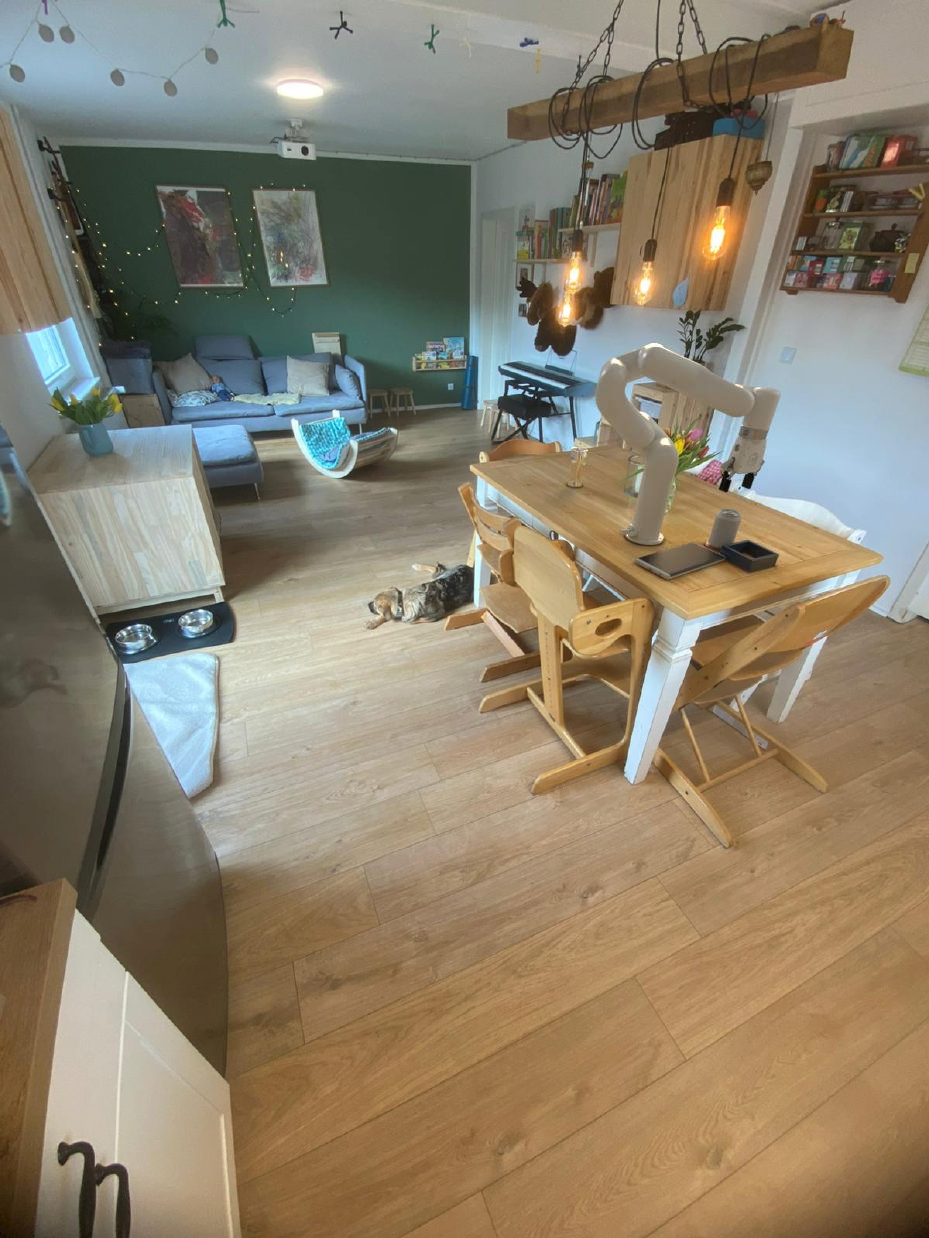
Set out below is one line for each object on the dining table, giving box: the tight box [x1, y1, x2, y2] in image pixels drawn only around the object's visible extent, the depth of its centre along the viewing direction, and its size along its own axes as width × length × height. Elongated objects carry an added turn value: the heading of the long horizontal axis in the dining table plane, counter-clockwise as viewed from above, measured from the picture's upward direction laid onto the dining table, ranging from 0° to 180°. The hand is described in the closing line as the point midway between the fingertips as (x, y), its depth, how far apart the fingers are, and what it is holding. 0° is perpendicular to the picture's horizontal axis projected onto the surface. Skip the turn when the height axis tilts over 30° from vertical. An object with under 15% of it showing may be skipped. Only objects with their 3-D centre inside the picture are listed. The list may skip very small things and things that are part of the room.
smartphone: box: [634, 541, 726, 580], centre depth 165 cm, size 13×27×2 cm, turn 121°
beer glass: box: [567, 446, 589, 488], centre depth 220 cm, size 7×7×15 cm
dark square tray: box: [719, 539, 780, 573], centre depth 166 cm, size 12×12×4 cm
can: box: [707, 508, 742, 549], centre depth 172 cm, size 8×8×12 cm
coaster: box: [704, 541, 721, 553], centre depth 175 cm, size 9×9×1 cm
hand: (734, 489), depth 166 cm, fingers open, 9 cm apart
